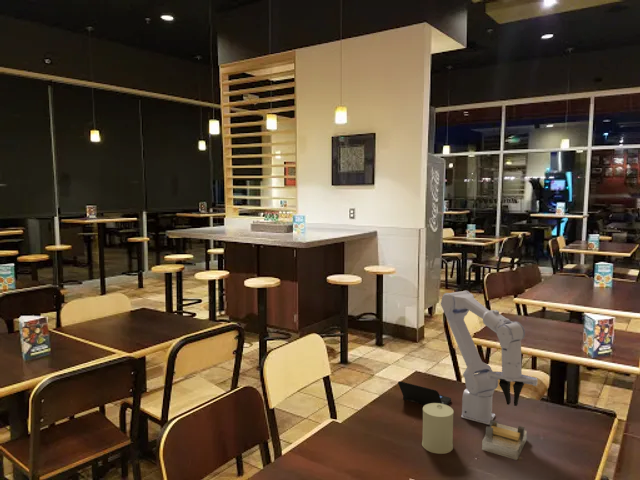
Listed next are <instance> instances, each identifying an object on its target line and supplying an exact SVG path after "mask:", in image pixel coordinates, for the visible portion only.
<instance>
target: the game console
mask: <svg viewBox="0 0 640 480" xmlns="http://www.w3.org/2000/svg"><path fill="white" fill-rule="evenodd" d="M397 384H398V387H399V388H400V391H401V393H402V399H403V400H404V401H407V400H408V402H411V403H414V402H415V404H418V403H421V404H420V405H423V406H425V405H426V404H430V403H441V404H445V405H448V406H449V404H450V403H451V402H452V398H451V397H449V396H445V395H443V394H440V393H439V391H438V390H436V389H433V388H428V387H424V386H421V385H416V384H412V383H408V382H405V381H399V380H398V383H397Z"/></svg>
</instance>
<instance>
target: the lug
mask: <svg viewBox="0 0 640 480" xmlns="http://www.w3.org/2000/svg"><path fill="white" fill-rule="evenodd" d="M517 429H518V433H520V436H521V437H523V436H524V430H525V429H526V428H525V426H521V425H519V426H518V427H517Z"/></svg>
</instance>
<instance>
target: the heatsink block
mask: <svg viewBox="0 0 640 480" xmlns="http://www.w3.org/2000/svg"><path fill="white" fill-rule="evenodd" d="M491 426H495V427H499V428H503V429H507V430H510V431H514V432H518V427H517V428H516V427H513V426H509V425H506V424H502V423H498V420H497V421H496V420H494V419H493V420H490V424H489V426H487V425H486V427H485V434H484V437H483V439H482V440H481V450H482V451H484V452H488V453H491V454H495V455H497V456H498V455H499V456H502V457H504V458H508V459H512V460H515V461H517V460H518V459H519V457H520V455H521V453H522V451H523V448H524V446H525V444H526V442H527V439H528V438H527V436H528V435H527V434H528V433H527V432H528V431H527V430H525V429H524V436H523V437H521V436H520V437H519V439H518V441H517V440H514V439H510V438H506V437H503V436H499V435H495V434H493V428H491Z"/></svg>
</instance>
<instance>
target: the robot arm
mask: <svg viewBox="0 0 640 480" xmlns="http://www.w3.org/2000/svg"><path fill="white" fill-rule="evenodd" d="M440 301H441V302H440V306H441V308H442V310H443V313H444V315H445V317H446V321H447V322H448V325H449V327H450V330H451V332H452V334H453V337H454V339H455V342H456V344H457V346H458V349H459V351H460V354H461V356H462V358H463V361H464V363H465V365H466V368H465V370H464V371H463V375H462V376H463V378H464V382H465V384H464V385H465V387H466V388H465V389H464V390H463V393H462V399H461V414H460V415H461V418H462V419H466V420H470V421H473V422H477V423H481V424H484V425H489V426H490V420H494V418H495V417H496V414H495V413H493V394H494V393H495V390H496V389H498V387H500V389H501V390H502V393H503V395H504V397H505V401H506V405H508V406H509V405H510V404H511V383H513V385H512V389H513V406H515V407H517V406H518V405H519V398H520V395H521V393H522V390H523V387H524V386H525V384H526V385H532V386H534V387H537V386H538V385H539V384H538V378H537V377H534V376H533V377H532V376H530V375H529V376H528V375H525V374H522V373H523V372H522V340H524V339H525V337H526V330H525V327H524V326H523V324H522V323H520V322H519V321H511V319H509V318H508V317H507V318H506V317H505V316H504V315H502V314H501V313H500V311H499V310H497V309H496V310H495V309H490V310H489V309H488V308H487V307H485V306H484V305H483V304H482V303H480V302H479V301H478V300H477V299H475V296H474V294H473V293H471V292H470V291H469V290H466V289H465V290H463V291H462V290H461V291H455V292H444V293H443V295H442V297H441V300H440ZM469 312H470V313H473V314H474V315H475V316H477V317H479V318H480V319H482V323H483V325H484V326H486V327H487V328H488V329H489V330H491V331H493V332H494V333H495V334H496V336H497V339H498V341H499V345H500V347H501V371H493V370H492V367H491V366H490V365H489V364H488V363H485V362H484V361H483V360H482V358H481V356H480V354H479V351H478V349H477V347H476V345H475V344H476V343H474V340H473V338H472V336H471V333H470V330H469V329H468V326H467V324H466V322H465V317H466V316H467V315H468V313H469Z"/></svg>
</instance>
